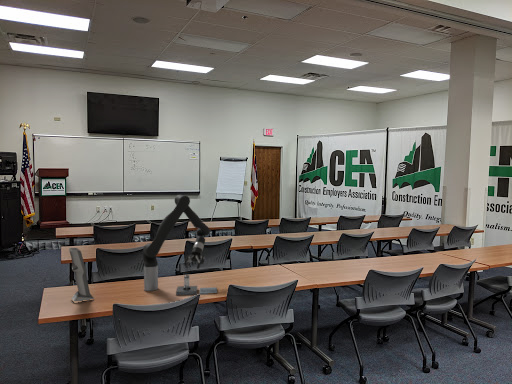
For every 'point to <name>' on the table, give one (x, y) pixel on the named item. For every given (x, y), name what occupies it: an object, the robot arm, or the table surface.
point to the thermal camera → (80, 276)
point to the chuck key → (186, 282)
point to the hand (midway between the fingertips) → (192, 268)
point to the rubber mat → (208, 290)
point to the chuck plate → (181, 290)
